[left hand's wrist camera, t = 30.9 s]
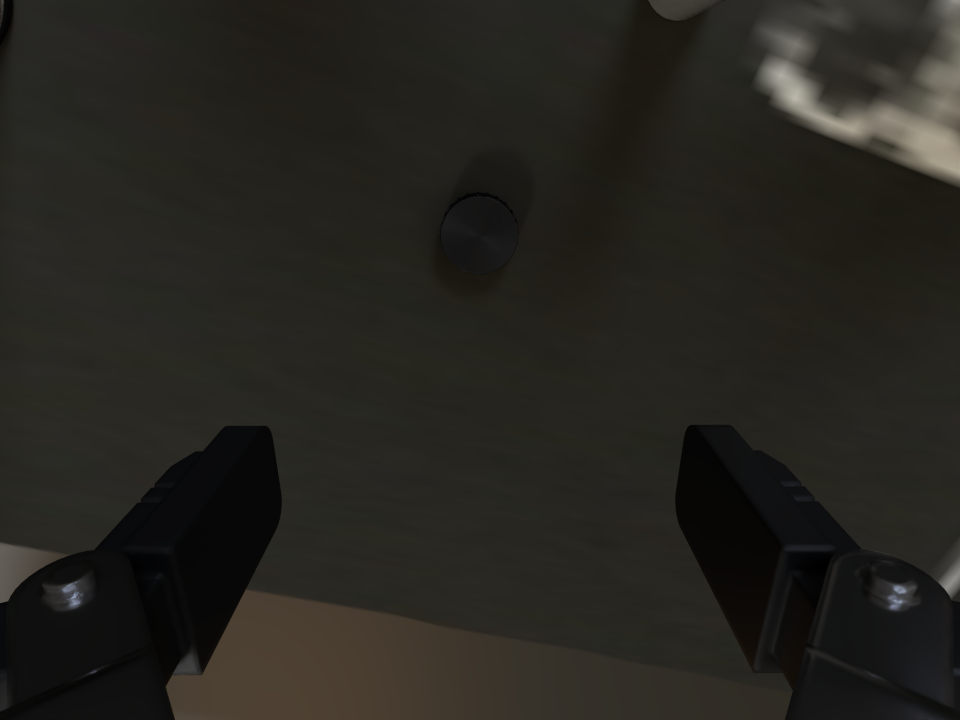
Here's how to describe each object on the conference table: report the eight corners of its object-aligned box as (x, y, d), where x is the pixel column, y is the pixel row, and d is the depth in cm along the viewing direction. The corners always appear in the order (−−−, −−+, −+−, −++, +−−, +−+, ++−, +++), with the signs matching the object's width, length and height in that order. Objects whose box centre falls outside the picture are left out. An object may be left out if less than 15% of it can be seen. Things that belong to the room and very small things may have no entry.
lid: (431, 253, 39) (429, 259, 37) (456, 180, 37) (454, 183, 35) (501, 278, 39) (502, 286, 37) (528, 207, 38) (531, 212, 36)
